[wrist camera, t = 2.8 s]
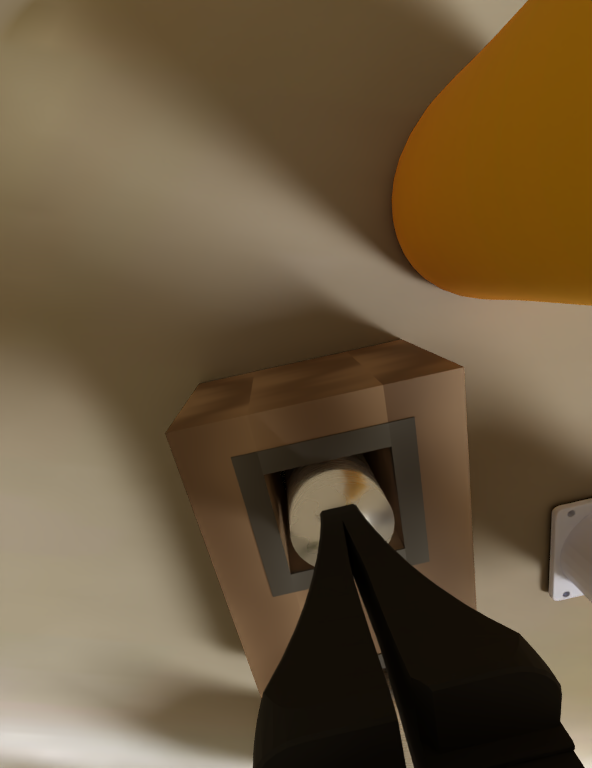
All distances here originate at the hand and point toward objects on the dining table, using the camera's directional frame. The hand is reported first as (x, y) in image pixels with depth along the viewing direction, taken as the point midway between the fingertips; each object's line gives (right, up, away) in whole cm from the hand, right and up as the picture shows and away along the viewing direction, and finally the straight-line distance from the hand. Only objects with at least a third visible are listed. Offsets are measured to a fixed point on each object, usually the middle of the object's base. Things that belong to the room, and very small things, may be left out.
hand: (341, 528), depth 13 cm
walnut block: (+1, -4, +8) cm, 9 cm away
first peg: (0, +2, +6) cm, 6 cm away
